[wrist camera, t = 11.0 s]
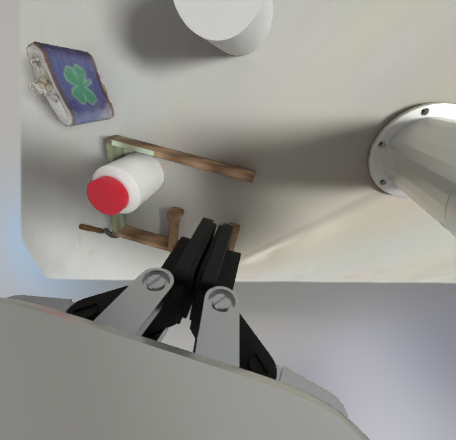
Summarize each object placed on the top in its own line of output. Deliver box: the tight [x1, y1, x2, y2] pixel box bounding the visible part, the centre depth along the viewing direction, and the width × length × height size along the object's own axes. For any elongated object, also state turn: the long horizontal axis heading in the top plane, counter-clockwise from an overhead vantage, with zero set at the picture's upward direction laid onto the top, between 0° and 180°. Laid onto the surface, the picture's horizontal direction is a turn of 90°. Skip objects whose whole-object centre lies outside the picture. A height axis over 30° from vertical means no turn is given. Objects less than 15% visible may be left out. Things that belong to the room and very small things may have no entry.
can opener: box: [79, 224, 118, 238], centre depth 51 cm, size 9×2×1 cm, turn 76°
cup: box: [173, 0, 273, 56], centre depth 24 cm, size 8×8×12 cm
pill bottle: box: [87, 152, 164, 215], centre depth 37 cm, size 8×8×11 cm
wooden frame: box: [106, 135, 255, 252], centre depth 42 cm, size 24×19×3 cm
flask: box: [27, 42, 114, 126], centre depth 32 cm, size 9×3×11 cm, turn 12°
